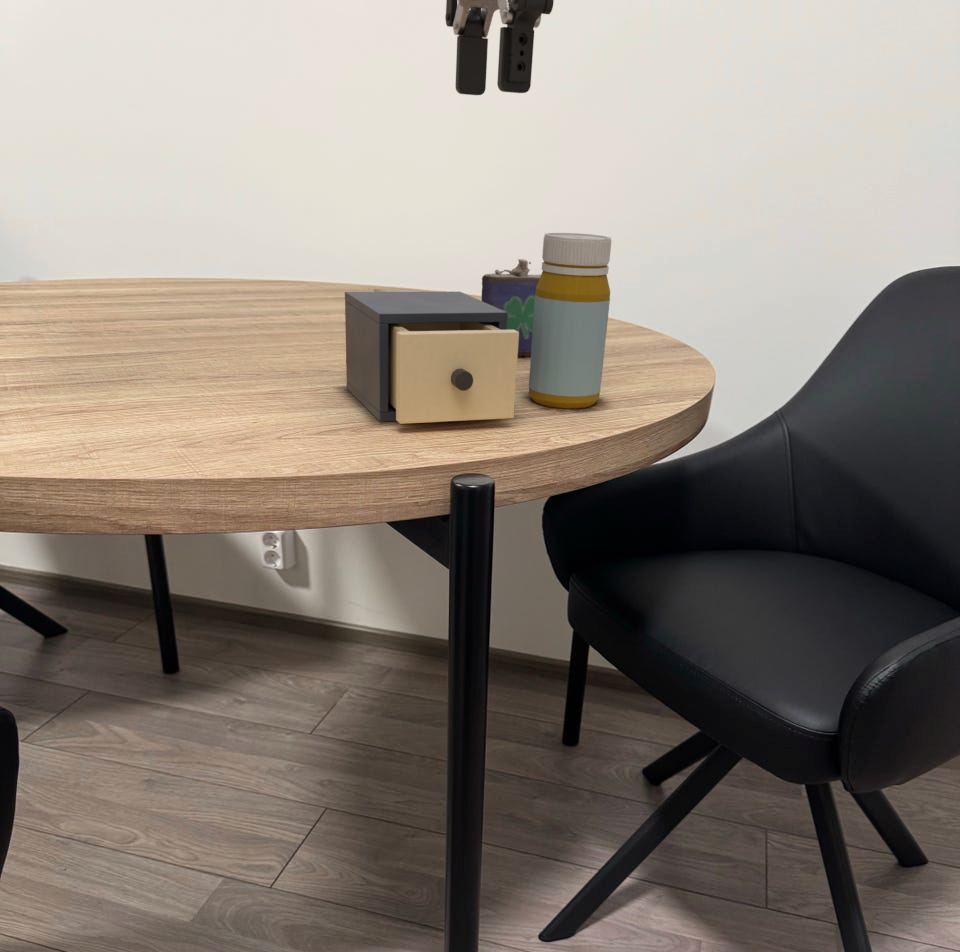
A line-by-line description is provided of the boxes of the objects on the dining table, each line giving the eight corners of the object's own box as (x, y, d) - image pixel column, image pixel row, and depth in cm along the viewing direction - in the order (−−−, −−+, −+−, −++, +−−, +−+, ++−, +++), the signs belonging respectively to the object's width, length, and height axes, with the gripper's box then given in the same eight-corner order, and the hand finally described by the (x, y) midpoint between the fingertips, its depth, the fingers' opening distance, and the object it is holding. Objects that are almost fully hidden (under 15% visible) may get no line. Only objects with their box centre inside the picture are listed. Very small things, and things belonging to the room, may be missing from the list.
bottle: (513, 399, 92) (523, 233, 85) (557, 389, 97) (570, 231, 90) (569, 413, 88) (585, 241, 81) (612, 402, 93) (631, 238, 86)
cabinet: (502, 415, 86) (508, 312, 82) (379, 422, 83) (379, 313, 78) (457, 384, 97) (460, 291, 93) (346, 388, 93) (344, 291, 89)
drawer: (519, 421, 81) (525, 334, 78) (403, 427, 78) (404, 336, 75) (469, 388, 92) (472, 309, 88) (365, 392, 88) (364, 310, 85)
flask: (546, 351, 115) (553, 257, 110) (556, 356, 112) (564, 260, 107) (475, 353, 112) (479, 256, 107) (484, 358, 109) (489, 260, 104)
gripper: (417, -177, 65) (412, 92, 73) (493, -241, 54) (477, 86, 61) (515, -159, 68) (501, 99, 76) (608, -216, 56) (580, 95, 64)
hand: (490, 93), depth 68 cm, fingers open, 8 cm apart
